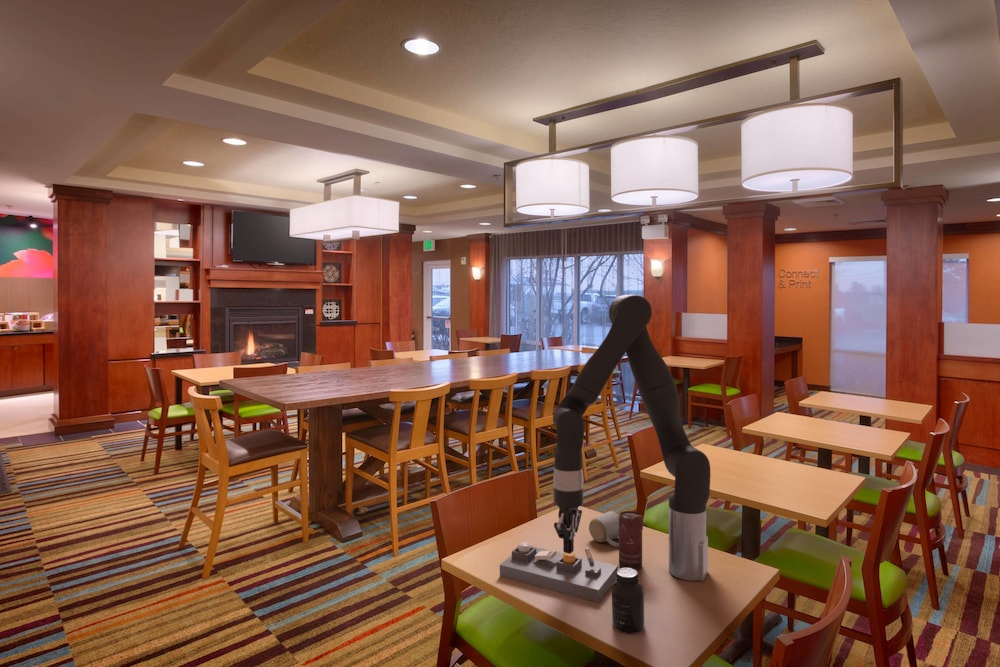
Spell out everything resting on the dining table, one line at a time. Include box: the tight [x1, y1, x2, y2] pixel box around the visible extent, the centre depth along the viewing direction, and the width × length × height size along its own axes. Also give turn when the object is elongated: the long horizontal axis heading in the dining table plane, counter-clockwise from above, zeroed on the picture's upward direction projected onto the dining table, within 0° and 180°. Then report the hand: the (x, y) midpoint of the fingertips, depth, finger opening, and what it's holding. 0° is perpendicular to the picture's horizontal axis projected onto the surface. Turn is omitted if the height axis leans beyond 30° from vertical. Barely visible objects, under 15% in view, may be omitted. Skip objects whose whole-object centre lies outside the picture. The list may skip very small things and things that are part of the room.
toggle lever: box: [584, 547, 595, 567], centre depth 140 cm, size 1×1×5 cm
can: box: [618, 510, 644, 571], centre depth 150 cm, size 6×6×14 cm
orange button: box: [563, 552, 576, 565], centre depth 143 cm, size 3×3×2 cm
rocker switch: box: [535, 550, 557, 560], centre depth 146 cm, size 5×3×1 cm
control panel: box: [499, 545, 619, 603], centre depth 145 cm, size 27×14×5 cm, turn 60°
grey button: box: [517, 542, 531, 554], centre depth 150 cm, size 3×3×2 cm
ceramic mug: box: [588, 510, 620, 548], centre depth 166 cm, size 11×8×8 cm
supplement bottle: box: [611, 567, 645, 634], centre depth 122 cm, size 7×7×12 cm
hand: (568, 552), depth 143 cm, fingers closed
